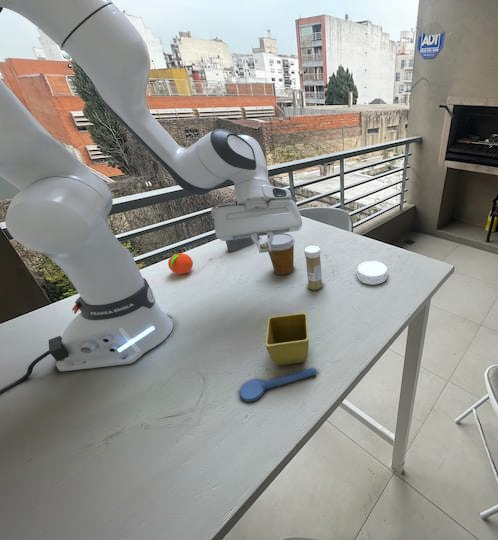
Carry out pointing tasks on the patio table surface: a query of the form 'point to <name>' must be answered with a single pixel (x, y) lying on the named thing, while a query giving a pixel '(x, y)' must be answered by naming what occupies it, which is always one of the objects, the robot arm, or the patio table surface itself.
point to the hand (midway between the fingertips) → (265, 251)
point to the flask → (238, 242)
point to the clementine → (180, 263)
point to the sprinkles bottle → (313, 267)
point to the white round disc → (372, 272)
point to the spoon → (270, 384)
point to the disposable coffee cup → (282, 253)
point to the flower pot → (287, 338)
